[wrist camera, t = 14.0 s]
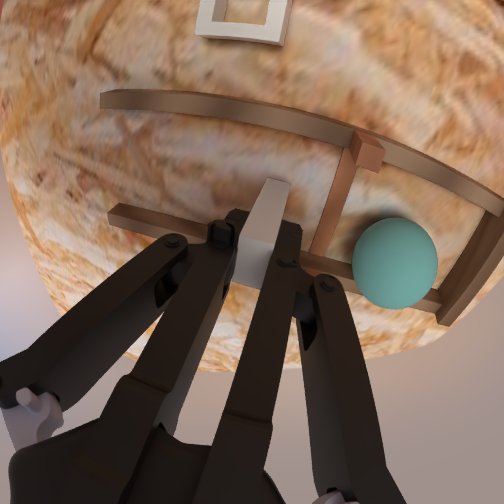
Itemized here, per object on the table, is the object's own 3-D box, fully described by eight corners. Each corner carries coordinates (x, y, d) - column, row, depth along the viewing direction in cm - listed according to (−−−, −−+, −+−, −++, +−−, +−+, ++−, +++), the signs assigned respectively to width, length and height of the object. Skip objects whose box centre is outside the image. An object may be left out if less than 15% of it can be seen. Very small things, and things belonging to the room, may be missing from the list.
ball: (414, 274, 19) (346, 285, 21) (416, 203, 17) (341, 211, 18) (444, 318, 14) (361, 335, 15) (458, 231, 12) (362, 245, 13)
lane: (120, 214, 23) (88, 243, 19) (115, 89, 16) (70, 101, 12) (441, 302, 21) (453, 342, 17) (505, 199, 13) (536, 233, 10)
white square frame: (207, 38, 13) (194, 34, 11) (219, -23, 10) (207, -32, 8) (283, 46, 12) (278, 42, 11) (296, -17, 9) (293, -28, 8)
